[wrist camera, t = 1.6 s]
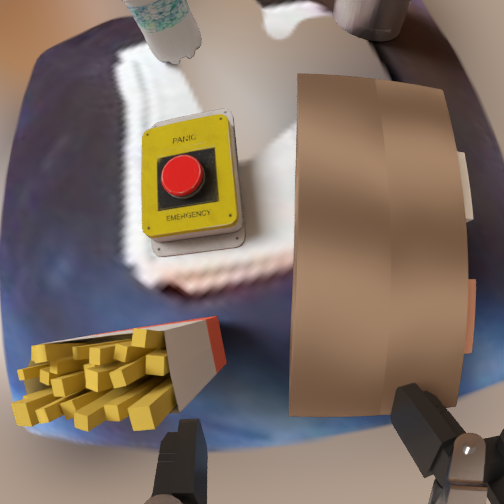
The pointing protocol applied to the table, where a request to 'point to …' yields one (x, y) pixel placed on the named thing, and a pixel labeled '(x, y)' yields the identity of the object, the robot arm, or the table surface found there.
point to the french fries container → (121, 374)
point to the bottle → (167, 28)
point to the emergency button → (191, 184)
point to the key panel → (375, 247)
